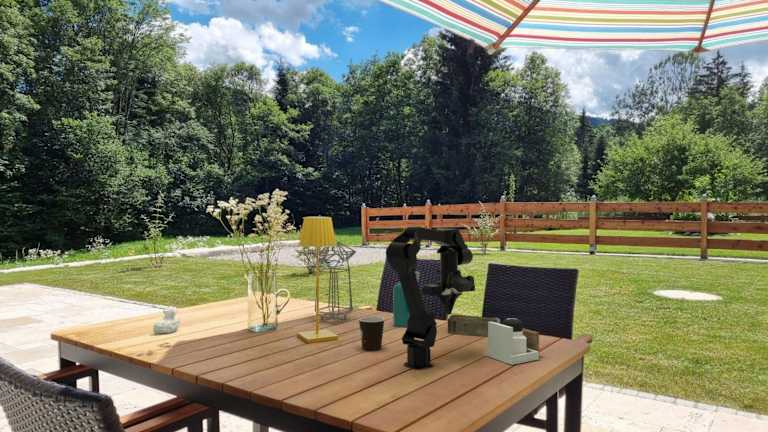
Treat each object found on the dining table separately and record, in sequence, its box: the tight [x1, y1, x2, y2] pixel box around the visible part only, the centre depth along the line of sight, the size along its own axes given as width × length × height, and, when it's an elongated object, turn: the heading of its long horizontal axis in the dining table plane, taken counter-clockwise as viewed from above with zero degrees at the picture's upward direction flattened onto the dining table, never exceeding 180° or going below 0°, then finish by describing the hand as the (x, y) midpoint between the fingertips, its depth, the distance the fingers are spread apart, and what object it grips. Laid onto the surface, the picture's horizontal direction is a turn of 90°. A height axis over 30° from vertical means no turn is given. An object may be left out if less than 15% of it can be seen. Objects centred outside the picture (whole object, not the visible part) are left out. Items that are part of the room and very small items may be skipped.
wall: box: [522, 327, 540, 353], centre depth 161 cm, size 2×8×8 cm, turn 30°
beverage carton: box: [447, 313, 501, 338], centre depth 190 cm, size 8×19×7 cm, turn 70°
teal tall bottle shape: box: [392, 271, 420, 328], centre depth 204 cm, size 10×8×22 cm
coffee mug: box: [358, 316, 385, 352], centre depth 170 cm, size 12×9×10 cm
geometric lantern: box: [309, 239, 357, 324], centre depth 211 cm, size 16×16×35 cm
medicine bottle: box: [502, 318, 527, 355], centre depth 158 cm, size 7×7×12 cm
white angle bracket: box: [485, 322, 540, 366], centre depth 158 cm, size 12×12×11 cm
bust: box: [152, 305, 181, 335], centre depth 191 cm, size 12×8×11 cm
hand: (448, 314), depth 162 cm, fingers closed
